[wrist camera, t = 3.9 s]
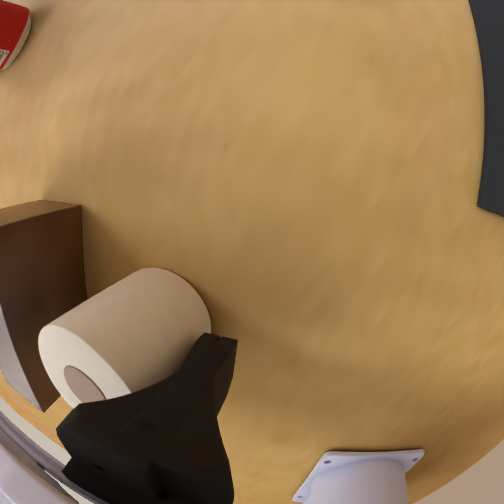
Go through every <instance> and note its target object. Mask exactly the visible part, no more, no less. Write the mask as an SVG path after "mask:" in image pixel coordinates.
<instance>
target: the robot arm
mask: <svg viewBox="0 0 504 504" xmlns="http://www.w3.org/2000/svg"><path fill="white" fill-rule="evenodd" d="M237 342H238V340H236V339H231V338H227V337H222V338H221V337H220V336H218V335H214V334H210V333H206V332H204V333H203V334H202V335H201V336H200V337H199V338H198V339H197V340H196V342H195V343H194V345H193V347H192V349H191V350H190V352H189V354H188V356H187V357H186V359H185V361H184V363H183V365H182V366H181V368H180V370H179V371H178V372H176V373H174V374H173V375H171V376H169V377H167V378H166V379H164V380H162V381H160V382H158V383H156V384H153V385H151V386H149V387H146V388H144V389H141V390H139V391H136V392H133V393H130V394H127V395H123V396H120V397H116V398H111V399H107V400H101V401H94V402H87V403H79V404H78V405H77V406H76V407H75V408H74V409H73V410H72V411H71V412H70V413H69V414H68V415H67V416H66V418H65V419H64V420H63V421H62V422H61V423H60V425H59V426H58V427H57V428H56V431H57V435H58V437H59V439H60V441H61V442H62V444H63V445H64V447H65V448H66V450H67V451H68V453H69V454H70V456H71V457H72V458H71V460H70V461H69V462H68V463H67V465H66V466H65V465H64V464H62V463H61V462H60V461H58V460H57V459H55V458H54V457H53V456H51V455H50V454H49V453H47V452H46V451H45V450H43V449H42V448H41V447H40V446H38V445H37V444H36V443H35V442H33V441H32V440H31V439H30V438H29V437H28V436H26V435H25V434H24V433H23V432H22V431H21V430H20V429H19V428H17V427H16V426H15V425H14V424H13V423H12V422H11V421H10V420H9V419H8V418H7V417H6V416H5V415H4V414H3V413H2V412H1V411H0V504H79V502H78V501H77V500H75V499H74V498H73V497H72V496H71V495H69V494H68V493H67V492H66V491H65V490H64V489H63V488H62V487H61V486H60V485H59V484H58V482H57V481H55V480H54V479H53V478H51V476H49V475H48V474H47V473H46V472H45V471H44V470H46V471H47V472H48V473H49V474H50V475H52V476H53V477H54V478H56V479H57V480H59V481H60V482H61V483H63V484H64V485H66V486H67V487H69V488H70V489H72V490H73V491H75V492H76V493H78V494H79V495H81V496H82V497H84V498H86V499H88V500H89V501H91V502H93V503H94V504H233V501H234V488H233V482H232V476H231V470H230V464H229V460H228V457H227V454H226V451H225V448H224V445H223V442H222V438H221V435H220V431H219V426H218V421H217V415H218V413H219V411H220V409H221V407H222V405H223V403H224V401H225V398H226V396H227V393H228V390H229V387H230V384H231V381H232V377H233V372H234V364H235V357H236V350H237ZM424 454H425V452H424V450H423V449H417V450H405V451H389V452H339V451H329V452H326V453H324V454H323V456H322V457H321V459H320V460H319V461H318V463H317V464H316V466H315V467H314V469H313V470H312V472H311V473H310V474H309V476H308V477H307V479H306V480H305V481H304V483H303V484H302V485H301V487H300V488H299V489H298V491H297V492H296V493H295V494H294V496H293V497H292V500H293V501H294V502H303V504H409V497H408V491H407V485H406V479H405V474H406V473H407V472H408V471H409V470H410V469H411V468H412V467H413V466H414V465H415V464H416V463H417V462H418V461H419V460H420V459H421V458H422V457H423V456H424Z"/></svg>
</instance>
